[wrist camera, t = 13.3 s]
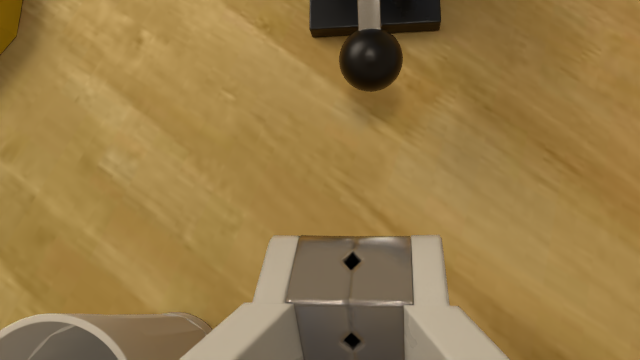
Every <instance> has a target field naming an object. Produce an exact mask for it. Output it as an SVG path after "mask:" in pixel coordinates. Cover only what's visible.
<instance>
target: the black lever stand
mask: <svg viewBox="0 0 640 360" xmlns="http://www.w3.org/2000/svg"><path fill="white" fill-rule="evenodd" d="M440 23H441V10H440V0H381V29H384V30H386V31H388V32H389V33H395V32H412V31H430V30H439V29H440ZM357 30H358V2H357V0H310V31H311V34H312V37H325V36H342V35H351V34H352V33H354V32H355V31H357Z"/></svg>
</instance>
